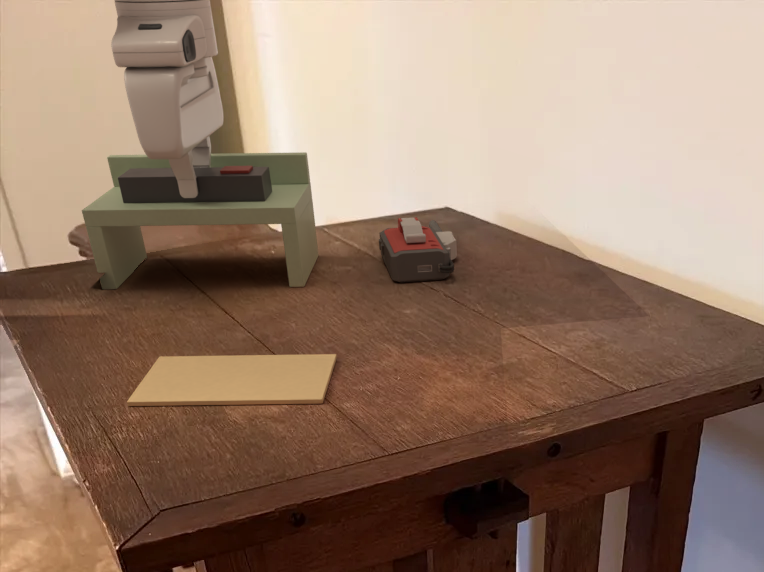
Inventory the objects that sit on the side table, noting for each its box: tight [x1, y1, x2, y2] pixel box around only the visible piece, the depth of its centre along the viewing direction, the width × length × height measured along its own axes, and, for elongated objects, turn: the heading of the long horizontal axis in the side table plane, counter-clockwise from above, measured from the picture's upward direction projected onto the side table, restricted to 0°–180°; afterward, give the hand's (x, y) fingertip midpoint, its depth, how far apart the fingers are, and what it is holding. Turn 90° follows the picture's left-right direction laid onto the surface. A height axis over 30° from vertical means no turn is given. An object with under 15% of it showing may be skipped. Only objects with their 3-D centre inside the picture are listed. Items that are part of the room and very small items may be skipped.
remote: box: [118, 166, 272, 203], centre depth 97 cm, size 15×4×3 cm, turn 90°
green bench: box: [81, 151, 319, 290], centre depth 100 cm, size 22×12×11 cm, turn 90°
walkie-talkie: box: [378, 216, 458, 283], centre depth 106 cm, size 9×4×20 cm
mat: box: [126, 353, 338, 407], centre depth 79 cm, size 16×10×1 cm, turn 90°
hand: (197, 190), depth 98 cm, fingers closed on remote, 4 cm apart
